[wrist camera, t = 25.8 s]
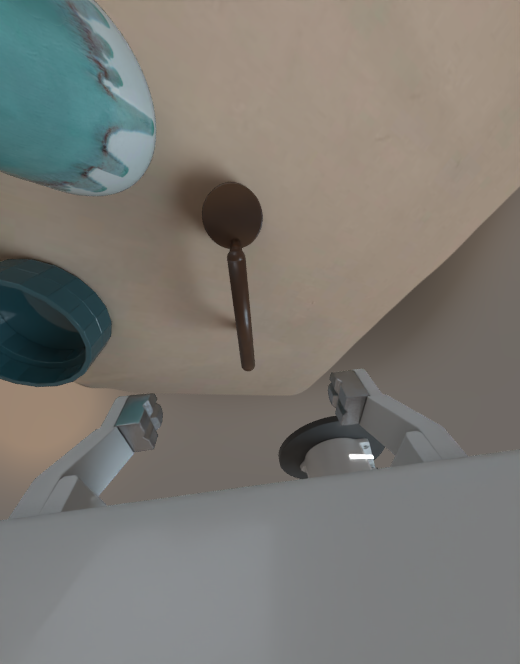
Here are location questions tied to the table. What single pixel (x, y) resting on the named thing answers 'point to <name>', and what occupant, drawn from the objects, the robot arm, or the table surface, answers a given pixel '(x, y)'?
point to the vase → (71, 99)
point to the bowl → (48, 324)
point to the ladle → (235, 250)
